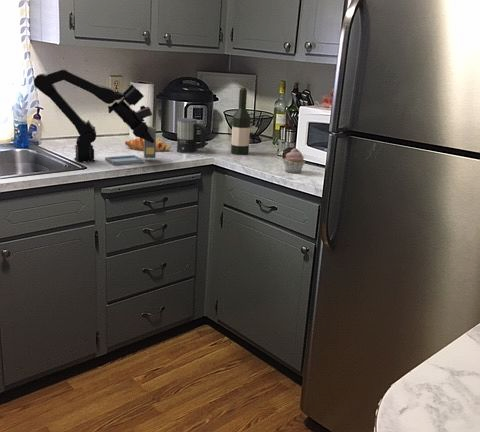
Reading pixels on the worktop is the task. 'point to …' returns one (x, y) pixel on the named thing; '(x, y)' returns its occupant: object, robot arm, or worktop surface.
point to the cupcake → (294, 161)
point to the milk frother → (190, 135)
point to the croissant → (139, 144)
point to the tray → (124, 160)
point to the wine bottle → (241, 127)
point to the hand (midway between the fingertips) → (153, 141)
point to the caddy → (150, 144)
